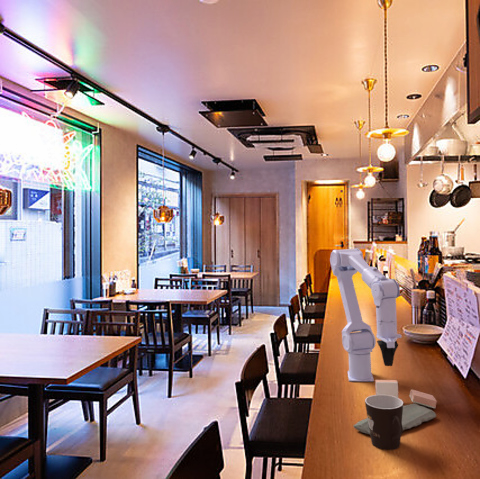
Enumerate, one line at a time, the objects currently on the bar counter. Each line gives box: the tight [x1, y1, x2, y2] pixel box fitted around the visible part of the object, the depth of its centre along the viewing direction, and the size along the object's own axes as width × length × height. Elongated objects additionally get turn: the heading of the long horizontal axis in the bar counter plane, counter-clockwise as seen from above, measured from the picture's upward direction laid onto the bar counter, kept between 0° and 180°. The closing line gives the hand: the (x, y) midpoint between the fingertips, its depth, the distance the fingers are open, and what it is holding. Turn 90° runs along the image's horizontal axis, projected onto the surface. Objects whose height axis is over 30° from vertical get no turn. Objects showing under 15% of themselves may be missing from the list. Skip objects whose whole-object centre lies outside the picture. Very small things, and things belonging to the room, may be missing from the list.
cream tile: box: [374, 379, 399, 398], centre depth 129 cm, size 2×6×6 cm, turn 79°
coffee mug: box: [364, 394, 404, 451], centre depth 103 cm, size 12×9×10 cm
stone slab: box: [353, 403, 437, 435], centre depth 114 cm, size 22×3×10 cm
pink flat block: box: [409, 388, 438, 409], centre depth 125 cm, size 2×6×6 cm
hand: (388, 365), depth 133 cm, fingers closed
